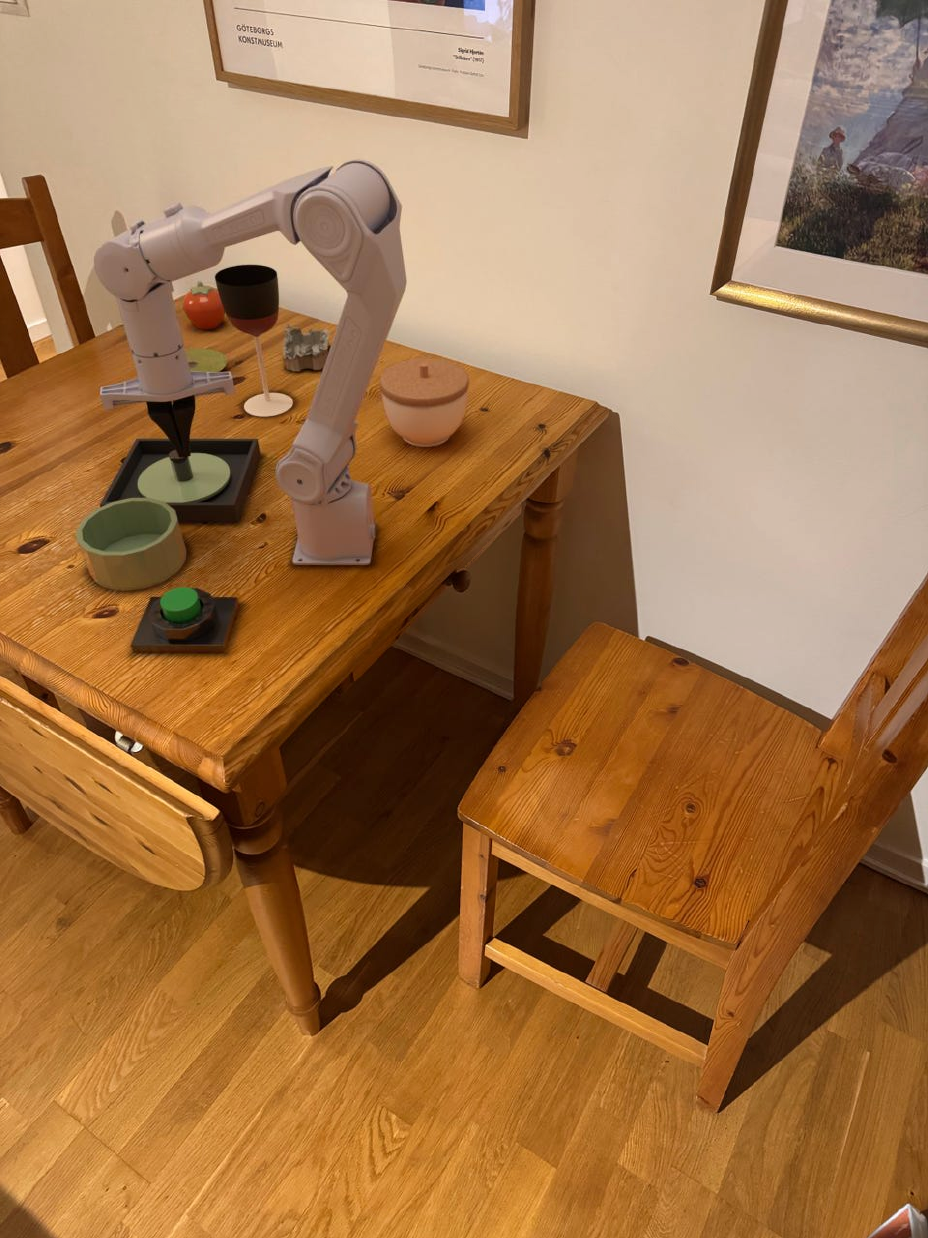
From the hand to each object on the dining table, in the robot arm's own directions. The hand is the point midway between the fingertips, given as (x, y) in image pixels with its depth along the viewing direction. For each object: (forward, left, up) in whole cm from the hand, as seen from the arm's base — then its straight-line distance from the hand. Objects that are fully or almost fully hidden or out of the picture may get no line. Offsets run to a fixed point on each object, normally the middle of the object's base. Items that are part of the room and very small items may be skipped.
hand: (184, 452), depth 104 cm
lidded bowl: (-28, -22, -11) cm, 37 cm away
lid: (+4, -8, -9) cm, 13 cm away
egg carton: (-7, -47, -11) cm, 49 cm away
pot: (+6, +8, -10) cm, 14 cm away
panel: (-3, +20, -10) cm, 23 cm away
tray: (+4, -8, -10) cm, 14 cm away
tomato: (+13, -60, -11) cm, 62 cm away
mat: (+11, -41, -11) cm, 44 cm away
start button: (-3, +20, -8) cm, 22 cm away
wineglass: (-3, -31, -11) cm, 33 cm away
